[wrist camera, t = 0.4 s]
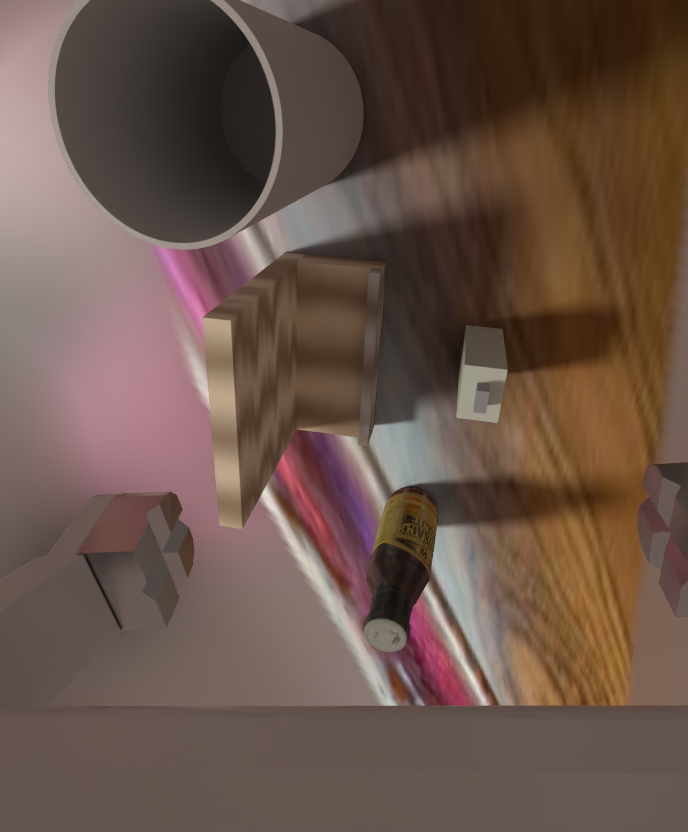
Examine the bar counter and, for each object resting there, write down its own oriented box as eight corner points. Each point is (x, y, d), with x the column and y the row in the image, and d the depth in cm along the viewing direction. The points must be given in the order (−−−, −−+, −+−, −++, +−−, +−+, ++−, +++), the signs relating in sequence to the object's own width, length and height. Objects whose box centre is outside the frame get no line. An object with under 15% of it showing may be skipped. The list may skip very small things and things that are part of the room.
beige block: (466, 325, 57) (464, 372, 47) (502, 328, 56) (508, 377, 46) (459, 371, 59) (455, 426, 49) (494, 375, 59) (498, 431, 49)
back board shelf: (285, 252, 57) (202, 317, 39) (386, 261, 55) (346, 333, 38) (286, 413, 65) (219, 525, 48) (374, 425, 64) (337, 544, 47)
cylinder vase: (276, 216, 55) (150, 288, 34) (200, 87, 51) (1, 75, 30) (391, 143, 50) (329, 172, 29) (316, -6, 46) (180, -101, 25)
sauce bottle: (449, 512, 67) (441, 651, 50) (407, 534, 70) (385, 674, 53) (414, 472, 66) (393, 602, 49) (372, 497, 69) (339, 629, 51)
